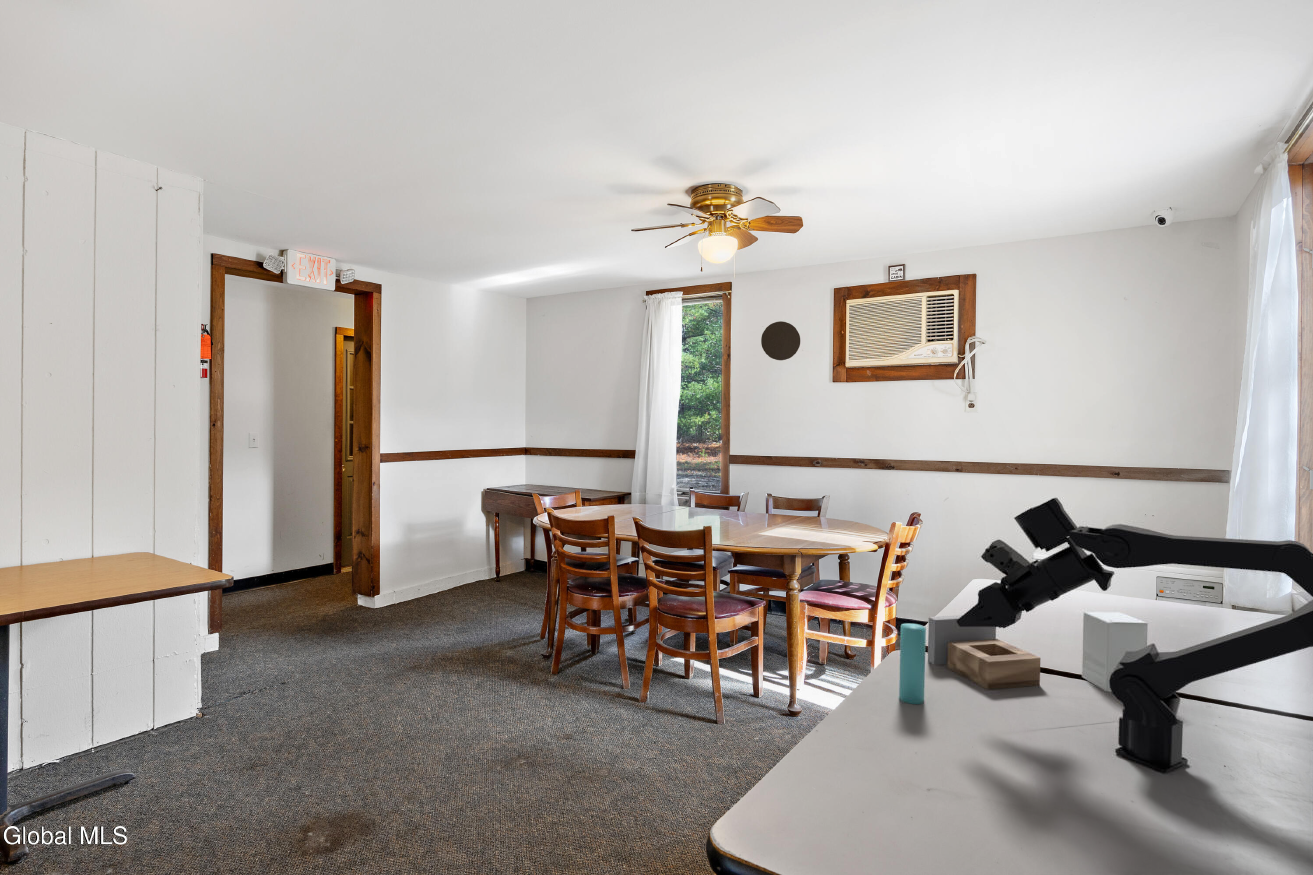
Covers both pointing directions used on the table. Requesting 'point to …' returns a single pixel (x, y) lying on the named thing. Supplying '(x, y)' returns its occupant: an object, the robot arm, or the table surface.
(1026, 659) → the hole block
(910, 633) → the dowel
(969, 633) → the backstop wall
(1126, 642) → the supplement box
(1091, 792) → the table surface
